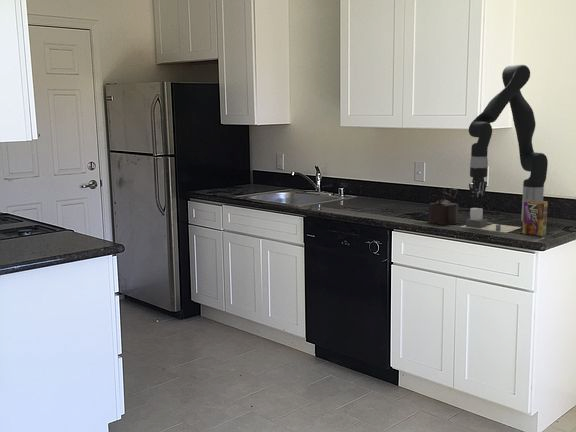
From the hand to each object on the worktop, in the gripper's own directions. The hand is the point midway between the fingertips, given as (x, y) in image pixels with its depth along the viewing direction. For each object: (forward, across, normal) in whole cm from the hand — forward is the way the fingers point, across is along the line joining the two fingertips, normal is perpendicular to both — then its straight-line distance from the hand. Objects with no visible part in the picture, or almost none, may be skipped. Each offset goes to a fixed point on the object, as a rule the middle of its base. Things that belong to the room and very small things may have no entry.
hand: (477, 204), depth 296 cm
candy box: (+11, +1, +27) cm, 29 cm away
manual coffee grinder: (+11, -2, -16) cm, 20 cm away
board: (+11, -2, +6) cm, 13 cm away
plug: (+10, 0, 0) cm, 10 cm away
